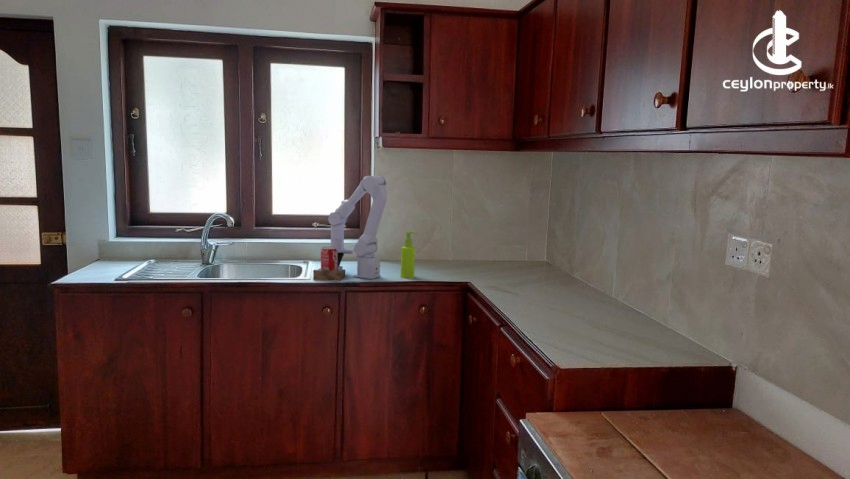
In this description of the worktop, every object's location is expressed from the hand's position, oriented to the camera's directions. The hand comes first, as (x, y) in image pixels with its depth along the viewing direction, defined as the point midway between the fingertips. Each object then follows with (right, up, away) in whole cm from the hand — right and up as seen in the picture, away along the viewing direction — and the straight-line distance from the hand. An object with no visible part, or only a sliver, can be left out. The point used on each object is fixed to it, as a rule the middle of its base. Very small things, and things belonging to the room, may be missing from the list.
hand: (337, 269), depth 263 cm
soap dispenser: (+32, -3, -5) cm, 33 cm away
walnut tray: (-1, -3, -12) cm, 12 cm away
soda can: (-2, -3, -12) cm, 12 cm away
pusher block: (-1, -2, -5) cm, 5 cm away
